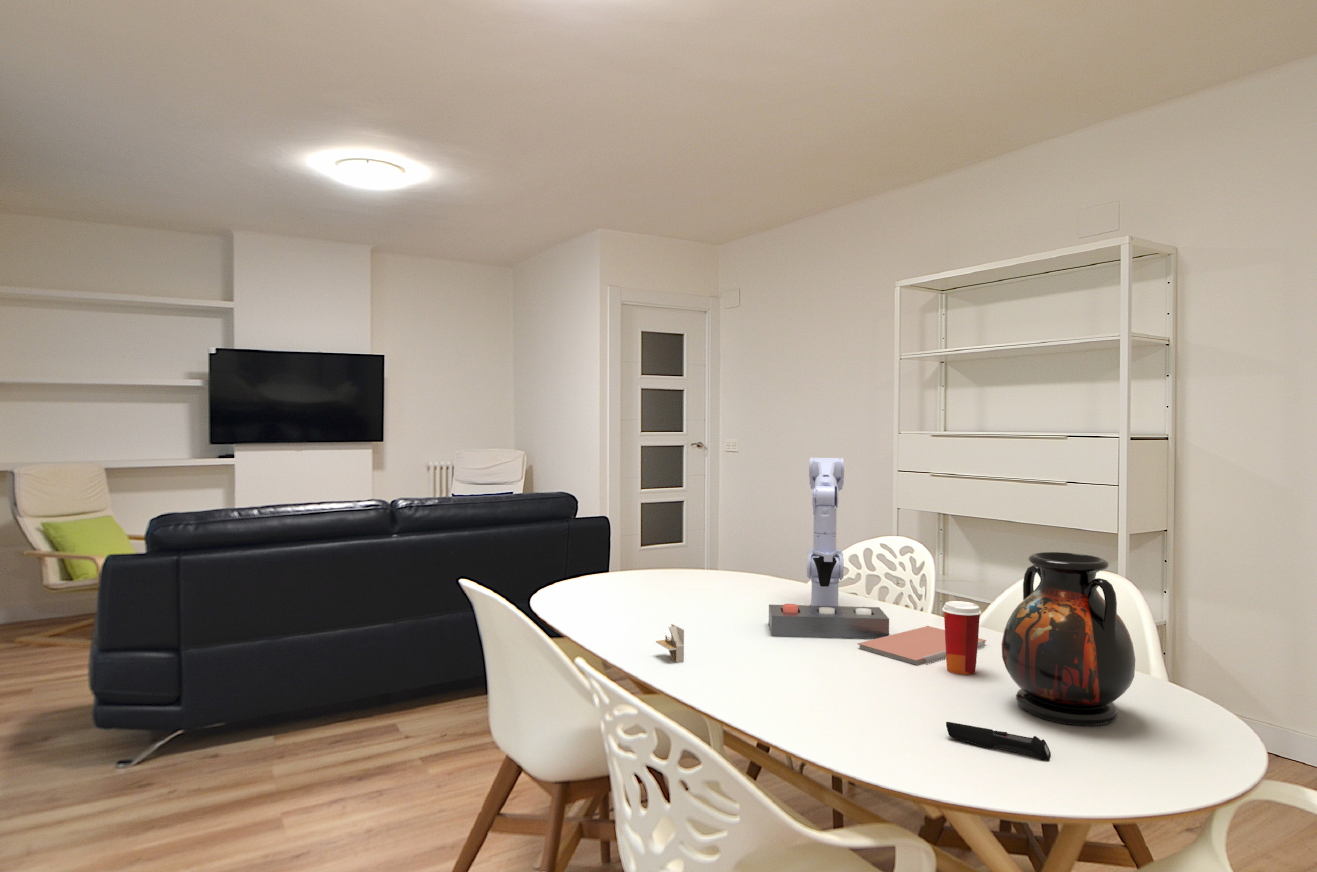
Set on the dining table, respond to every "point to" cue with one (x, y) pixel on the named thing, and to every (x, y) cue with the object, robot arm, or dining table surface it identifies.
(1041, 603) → the amphora vase
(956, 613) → the paper cup
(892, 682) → the dining table surface
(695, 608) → the dining table surface
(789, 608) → the red plug
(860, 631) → the block
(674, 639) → the architectural model
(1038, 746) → the electric trimmer
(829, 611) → the plug
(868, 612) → the plug
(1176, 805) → the dining table surface
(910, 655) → the notebook
